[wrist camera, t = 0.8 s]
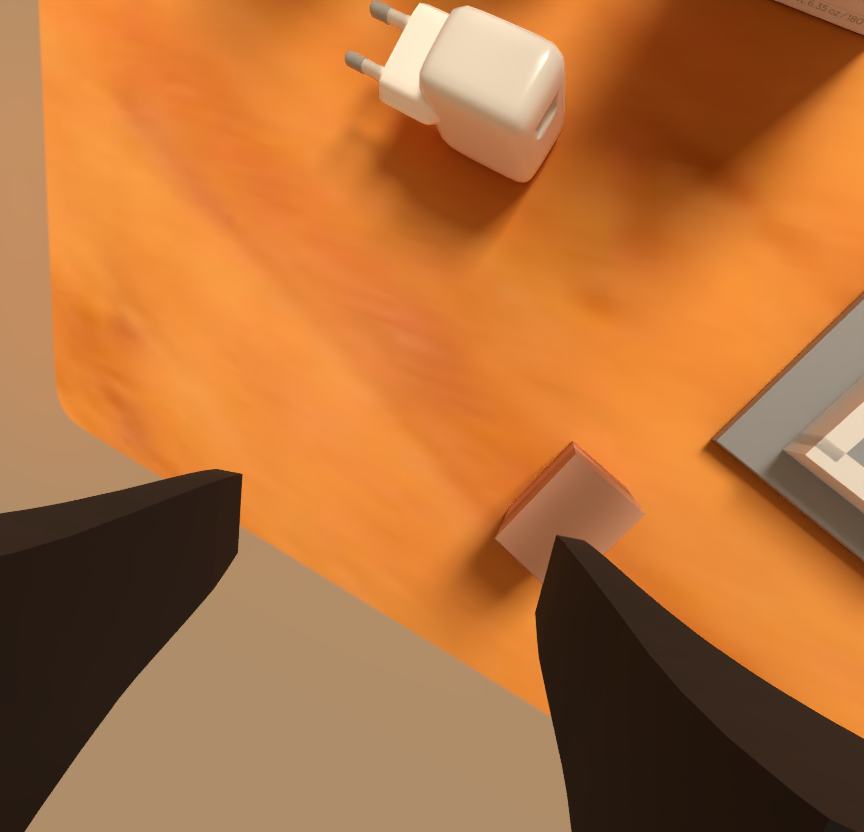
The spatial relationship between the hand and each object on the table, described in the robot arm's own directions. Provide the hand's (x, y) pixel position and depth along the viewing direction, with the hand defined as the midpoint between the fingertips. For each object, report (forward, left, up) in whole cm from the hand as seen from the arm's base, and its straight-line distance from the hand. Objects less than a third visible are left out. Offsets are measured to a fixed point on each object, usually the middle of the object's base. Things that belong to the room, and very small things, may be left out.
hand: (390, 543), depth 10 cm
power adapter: (+14, -13, -16) cm, 25 cm away
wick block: (-4, -1, -16) cm, 16 cm away
